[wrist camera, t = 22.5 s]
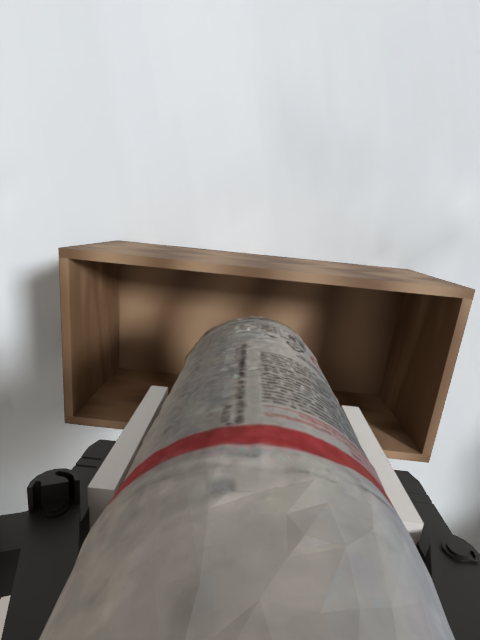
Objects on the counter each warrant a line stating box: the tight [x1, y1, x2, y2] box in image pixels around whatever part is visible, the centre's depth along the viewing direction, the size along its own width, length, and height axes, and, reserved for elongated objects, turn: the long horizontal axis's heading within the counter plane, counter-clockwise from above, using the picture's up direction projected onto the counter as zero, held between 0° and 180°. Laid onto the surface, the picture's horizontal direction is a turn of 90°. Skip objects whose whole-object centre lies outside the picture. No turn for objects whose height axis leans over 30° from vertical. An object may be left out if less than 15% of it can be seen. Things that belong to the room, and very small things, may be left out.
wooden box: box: [59, 241, 475, 463], centre depth 29 cm, size 26×12×10 cm, turn 85°
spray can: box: [39, 316, 455, 640], centre depth 12 cm, size 8×8×20 cm
